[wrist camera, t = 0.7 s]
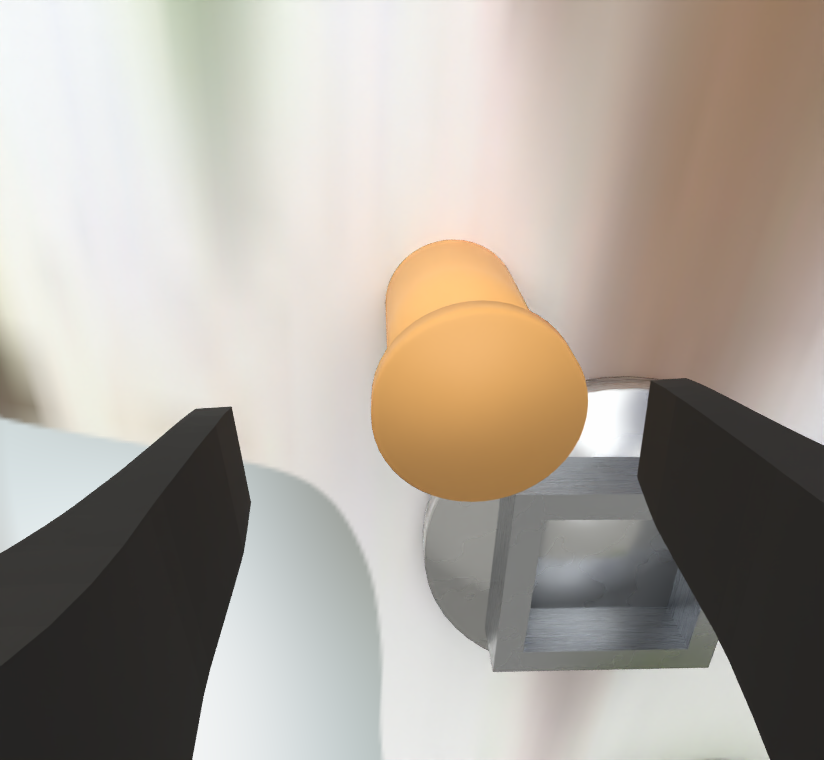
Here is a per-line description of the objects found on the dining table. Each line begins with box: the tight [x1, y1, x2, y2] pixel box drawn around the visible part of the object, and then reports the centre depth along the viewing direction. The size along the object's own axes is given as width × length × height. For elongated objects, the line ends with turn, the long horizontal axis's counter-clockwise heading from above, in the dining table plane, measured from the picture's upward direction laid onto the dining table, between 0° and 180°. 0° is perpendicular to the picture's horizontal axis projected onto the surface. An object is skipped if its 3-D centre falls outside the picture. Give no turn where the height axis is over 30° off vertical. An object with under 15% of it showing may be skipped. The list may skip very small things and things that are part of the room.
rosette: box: [423, 377, 718, 672], centre depth 24 cm, size 20×13×3 cm, turn 88°
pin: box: [371, 240, 588, 502], centre depth 18 cm, size 5×5×7 cm
